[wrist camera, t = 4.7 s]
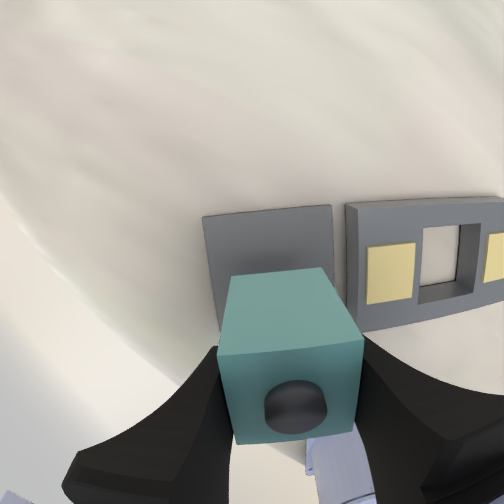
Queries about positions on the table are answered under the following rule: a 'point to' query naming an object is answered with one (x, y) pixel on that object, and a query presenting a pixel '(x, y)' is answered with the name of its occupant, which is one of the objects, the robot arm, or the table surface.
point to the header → (410, 255)
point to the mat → (267, 245)
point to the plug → (288, 357)
